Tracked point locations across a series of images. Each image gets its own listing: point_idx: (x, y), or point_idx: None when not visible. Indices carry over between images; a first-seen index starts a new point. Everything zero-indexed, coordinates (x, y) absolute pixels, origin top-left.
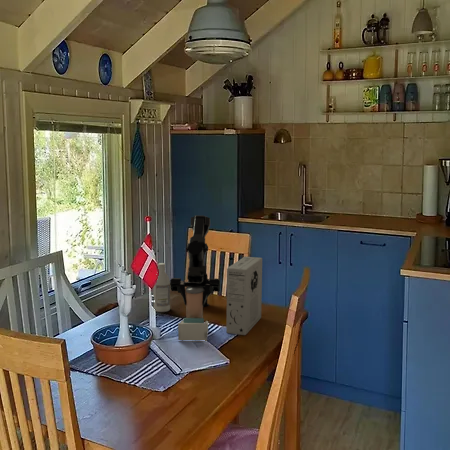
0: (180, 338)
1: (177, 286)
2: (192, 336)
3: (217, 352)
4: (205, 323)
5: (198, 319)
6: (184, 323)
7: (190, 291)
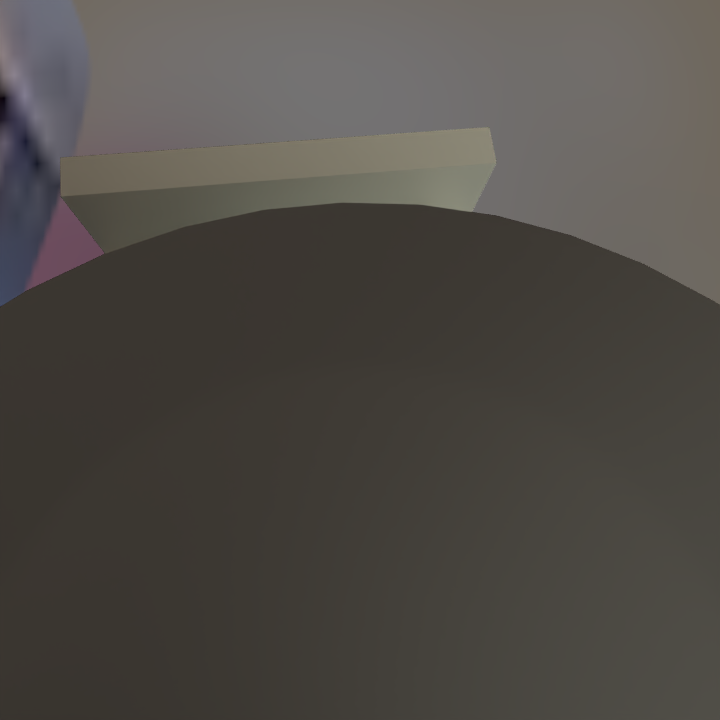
0: None
1: None
2: None
3: (13, 28)
4: (84, 181)
5: None
6: (403, 147)
7: (525, 242)
